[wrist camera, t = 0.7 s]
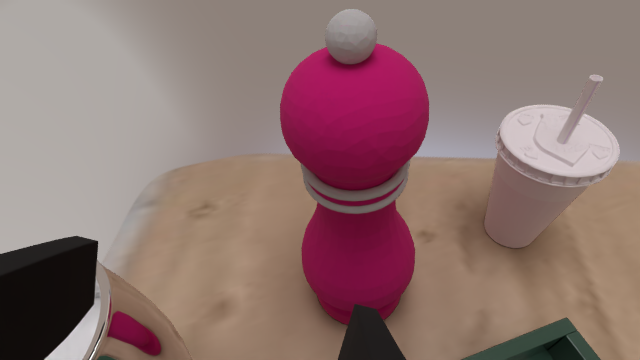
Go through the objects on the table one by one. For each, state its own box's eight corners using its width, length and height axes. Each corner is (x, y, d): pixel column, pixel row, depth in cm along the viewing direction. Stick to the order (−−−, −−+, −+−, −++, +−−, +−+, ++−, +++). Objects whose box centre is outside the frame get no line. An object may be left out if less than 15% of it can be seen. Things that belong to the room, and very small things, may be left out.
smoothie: (474, 262, 27) (543, 113, 17) (460, 195, 31) (508, 42, 21) (567, 265, 26) (701, 110, 16) (539, 196, 30) (632, 37, 20)
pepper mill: (378, 229, 30) (391, -45, 15) (428, 307, 25) (522, 26, 10) (295, 263, 28) (219, 0, 13) (333, 353, 24) (280, 105, 9)
